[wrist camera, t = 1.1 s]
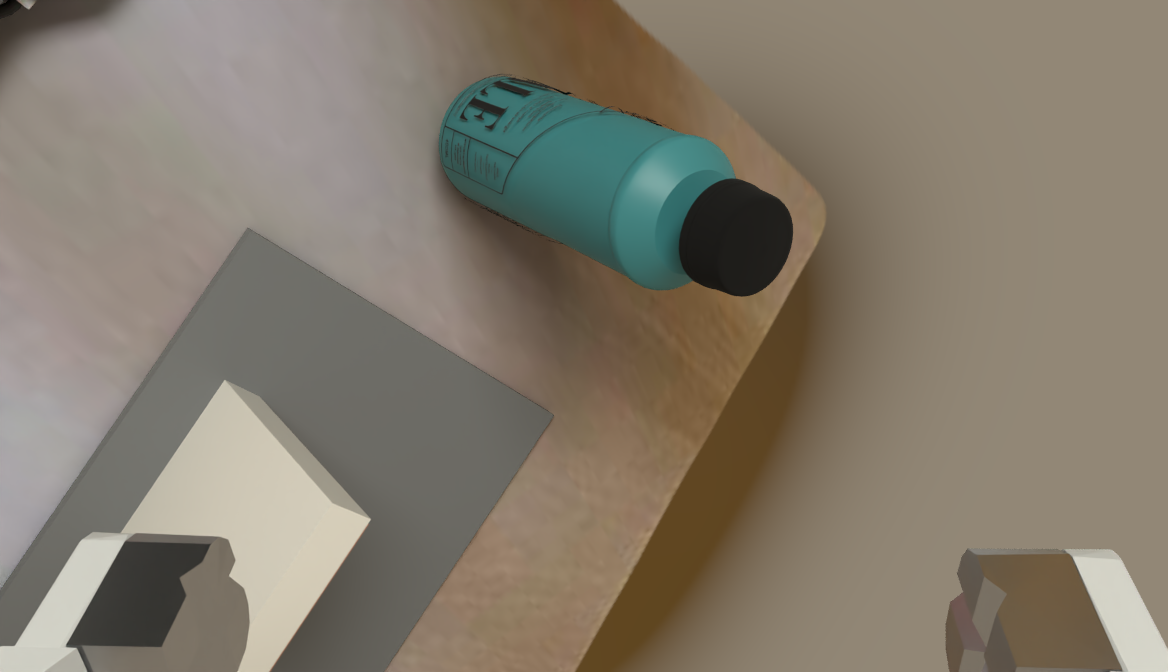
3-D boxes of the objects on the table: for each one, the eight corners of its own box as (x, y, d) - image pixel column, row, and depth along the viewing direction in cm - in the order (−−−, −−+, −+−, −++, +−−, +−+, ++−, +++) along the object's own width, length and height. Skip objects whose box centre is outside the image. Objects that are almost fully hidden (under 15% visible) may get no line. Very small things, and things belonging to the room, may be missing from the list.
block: (113, 543, 48) (197, 704, 39) (224, 379, 48) (332, 503, 40) (157, 557, 50) (247, 715, 41) (264, 398, 50) (376, 521, 41)
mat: (-36, 642, 46) (-34, 649, 46) (247, 227, 47) (251, 230, 47) (340, 726, 61) (343, 732, 61) (549, 411, 62) (554, 415, 62)
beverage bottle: (481, 218, 54) (754, 365, 40) (390, 146, 50) (662, 281, 35) (553, 116, 55) (849, 224, 40) (470, 34, 50) (770, 123, 36)
